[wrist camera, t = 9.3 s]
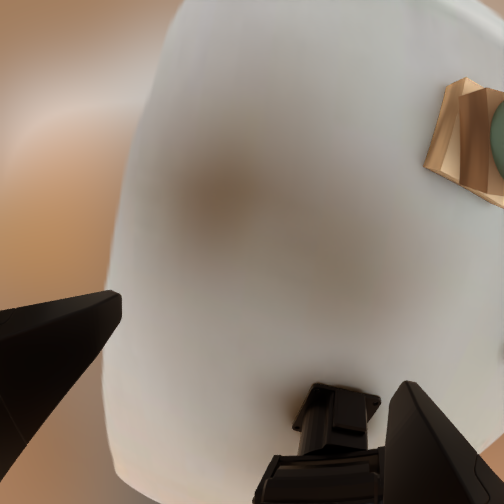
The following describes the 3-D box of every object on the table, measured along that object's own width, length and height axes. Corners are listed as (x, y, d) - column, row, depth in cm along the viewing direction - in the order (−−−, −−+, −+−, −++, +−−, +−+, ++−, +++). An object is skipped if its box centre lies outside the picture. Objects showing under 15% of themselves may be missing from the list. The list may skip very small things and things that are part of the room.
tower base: (489, 202, 17) (513, 213, 13) (421, 166, 17) (440, 170, 14) (511, 127, 14) (537, 127, 11) (445, 86, 15) (465, 77, 12)
